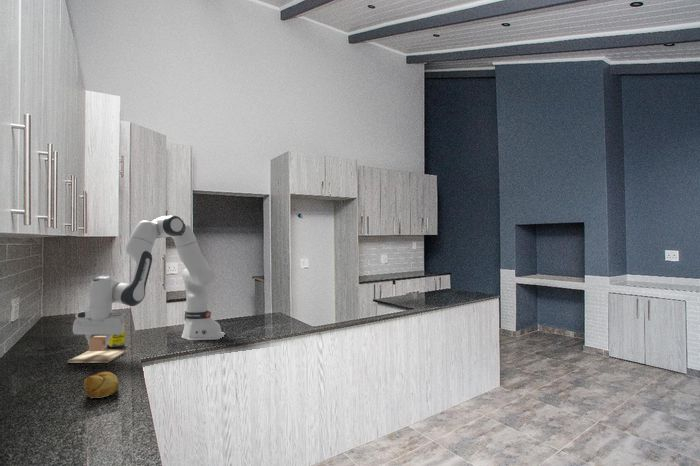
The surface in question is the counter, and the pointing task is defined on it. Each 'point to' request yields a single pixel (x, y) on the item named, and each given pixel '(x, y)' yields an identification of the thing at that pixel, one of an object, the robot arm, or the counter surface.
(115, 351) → the board
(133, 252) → the robot arm
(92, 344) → the cube
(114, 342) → the supplement box
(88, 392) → the bread roll
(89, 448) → the counter surface
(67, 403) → the counter surface
